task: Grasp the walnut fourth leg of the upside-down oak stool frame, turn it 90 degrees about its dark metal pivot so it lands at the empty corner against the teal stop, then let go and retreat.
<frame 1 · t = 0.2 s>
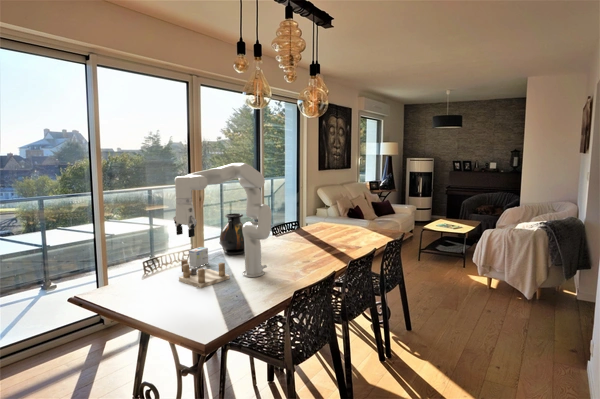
hand: (185, 235, 191), 31 cm above the table, fingers open, 9 cm apart
amphora vase: (235, 253, 279), on the table
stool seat: (204, 279, 220), on the table
light bulb box: (199, 265, 249), on the table
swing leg: (189, 267, 225), point 6 cm above the table, hinge at 90.0°
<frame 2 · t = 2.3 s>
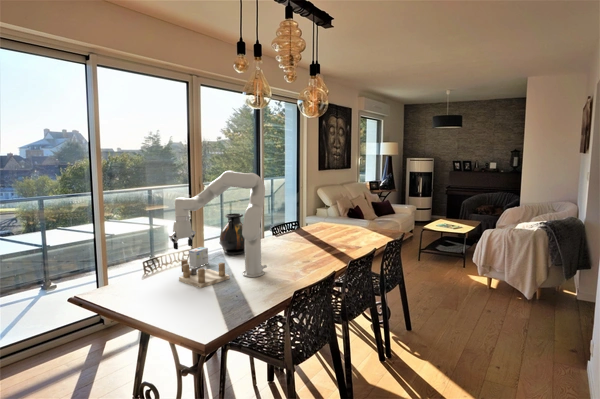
hand: (183, 247, 226), 17 cm above the table, fingers open, 9 cm apart
nothing on the table moved.
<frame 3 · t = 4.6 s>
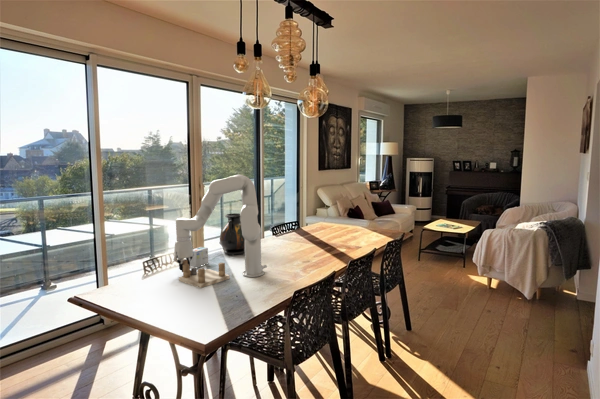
hand: (184, 268, 228), 4 cm above the table, fingers closed on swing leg, 3 cm apart
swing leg: (189, 267, 225), point 6 cm above the table, hinge at 90.0°, touching gripper
everything else where it was.
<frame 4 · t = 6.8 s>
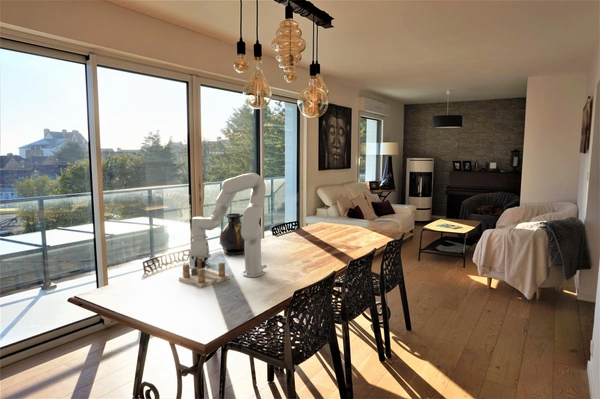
hand: (200, 267, 231), 4 cm above the table, fingers closed on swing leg, 3 cm apart
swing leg: (197, 266, 226), point 6 cm above the table, hinge at 30.8°, touching gripper
everything else where it was.
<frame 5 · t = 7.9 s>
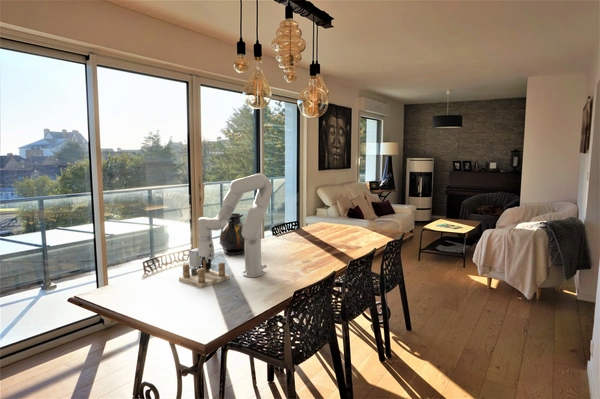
hand: (206, 267, 229), 4 cm above the table, fingers closed on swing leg, 3 cm apart
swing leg: (200, 266, 225), point 6 cm above the table, hinge at 2.0°, touching gripper
everything else where it was.
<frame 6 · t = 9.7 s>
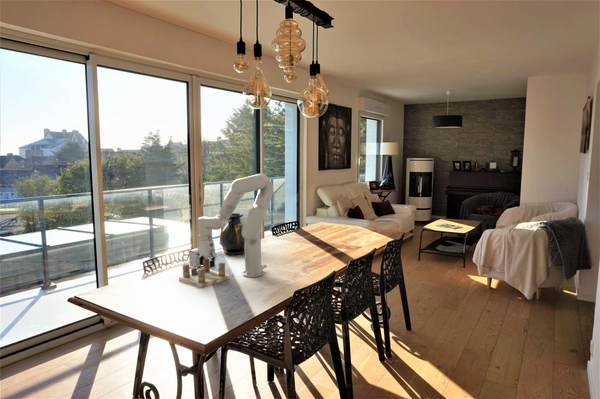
hand: (207, 265, 229), 5 cm above the table, fingers open, 9 cm apart
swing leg: (200, 266, 225), point 6 cm above the table, hinge at 1.4°
everything else where it was.
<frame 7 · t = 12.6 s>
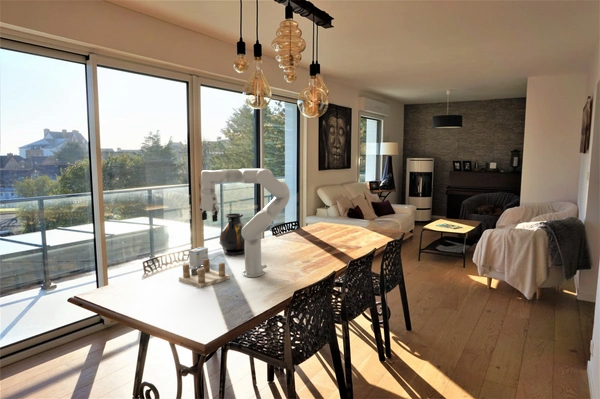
hand: (209, 220, 226), 32 cm above the table, fingers open, 9 cm apart
nothing on the table moved.
at the end: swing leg at +1° (first picture: +90°); the gripper is holding nothing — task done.
